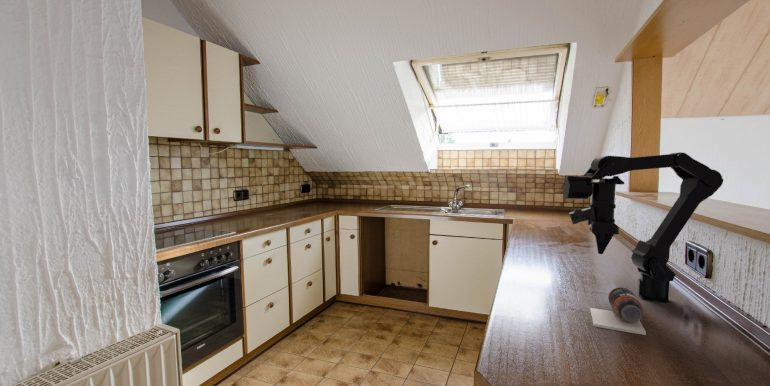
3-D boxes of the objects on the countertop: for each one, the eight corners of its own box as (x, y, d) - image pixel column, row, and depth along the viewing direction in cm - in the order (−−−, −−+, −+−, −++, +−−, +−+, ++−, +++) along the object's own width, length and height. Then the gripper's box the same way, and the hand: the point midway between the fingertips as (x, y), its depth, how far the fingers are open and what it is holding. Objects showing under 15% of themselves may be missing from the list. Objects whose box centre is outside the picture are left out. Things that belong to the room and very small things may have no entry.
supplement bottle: (622, 314, 94) (632, 332, 84) (602, 297, 96) (609, 312, 85) (641, 299, 93) (653, 315, 82) (620, 281, 94) (630, 295, 84)
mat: (636, 317, 91) (636, 314, 91) (645, 335, 81) (646, 332, 81) (590, 310, 95) (590, 307, 95) (593, 326, 85) (593, 323, 85)
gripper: (570, 196, 118) (568, 245, 119) (572, 201, 101) (569, 257, 102) (611, 198, 113) (608, 248, 114) (620, 203, 96) (617, 262, 97)
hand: (600, 253), depth 107 cm, fingers closed
